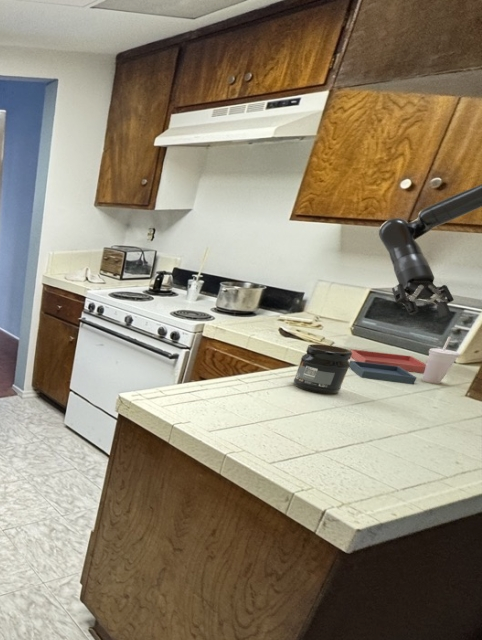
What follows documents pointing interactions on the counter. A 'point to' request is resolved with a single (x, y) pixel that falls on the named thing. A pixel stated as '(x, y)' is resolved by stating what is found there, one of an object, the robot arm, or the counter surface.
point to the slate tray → (382, 372)
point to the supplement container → (323, 368)
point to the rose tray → (389, 360)
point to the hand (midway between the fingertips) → (429, 314)
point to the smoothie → (439, 363)
